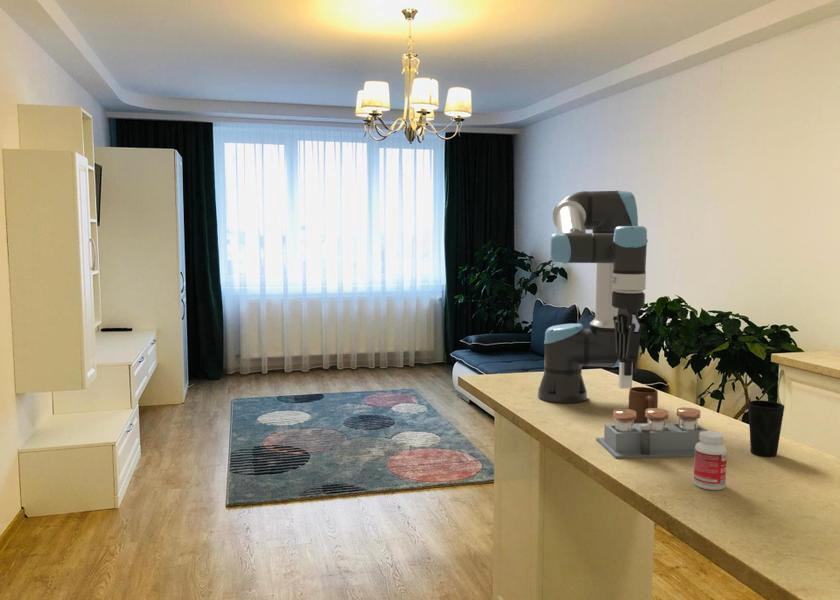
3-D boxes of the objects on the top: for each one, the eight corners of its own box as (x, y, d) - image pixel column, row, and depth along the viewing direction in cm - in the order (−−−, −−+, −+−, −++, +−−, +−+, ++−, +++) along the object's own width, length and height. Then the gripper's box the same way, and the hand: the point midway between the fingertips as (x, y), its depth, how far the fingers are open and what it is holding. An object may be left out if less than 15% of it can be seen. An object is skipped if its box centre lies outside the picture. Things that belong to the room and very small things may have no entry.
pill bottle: (725, 492, 140) (728, 439, 139) (693, 488, 142) (695, 436, 141) (724, 482, 146) (726, 431, 145) (693, 478, 148) (695, 428, 147)
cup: (738, 450, 166) (741, 402, 165) (761, 446, 169) (763, 399, 168) (765, 460, 159) (768, 409, 158) (789, 456, 162) (791, 406, 161)
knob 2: (671, 440, 172) (673, 407, 171) (692, 440, 172) (694, 407, 171) (681, 447, 166) (682, 413, 165) (703, 446, 167) (704, 413, 166)
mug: (666, 432, 182) (667, 397, 181) (637, 431, 182) (638, 397, 181) (651, 419, 194) (652, 386, 193) (624, 419, 194) (625, 386, 193)
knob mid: (640, 441, 171) (641, 408, 170) (661, 440, 172) (662, 407, 171) (649, 448, 166) (650, 414, 165) (671, 447, 166) (672, 413, 165)
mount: (596, 440, 175) (596, 420, 174) (691, 438, 177) (692, 419, 176) (615, 458, 161) (616, 437, 160) (719, 455, 163) (720, 435, 162)
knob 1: (609, 442, 171) (610, 408, 170) (630, 441, 171) (631, 408, 170) (616, 448, 165) (617, 414, 164) (638, 448, 166) (639, 414, 165)
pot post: (637, 451, 164) (638, 423, 163) (648, 451, 164) (649, 423, 163) (641, 455, 161) (642, 427, 160) (652, 455, 161) (653, 426, 161)
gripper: (603, 288, 170) (601, 381, 173) (623, 294, 157) (619, 395, 160) (633, 288, 171) (630, 381, 174) (654, 293, 158) (651, 394, 161)
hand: (625, 387), depth 167 cm, fingers closed
